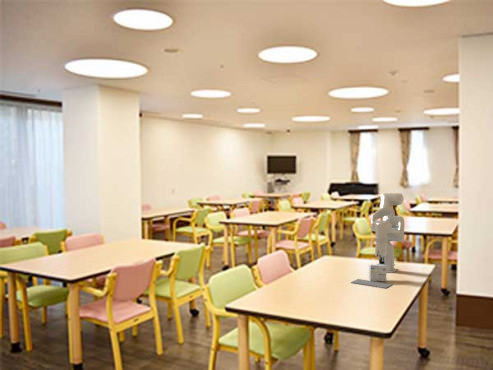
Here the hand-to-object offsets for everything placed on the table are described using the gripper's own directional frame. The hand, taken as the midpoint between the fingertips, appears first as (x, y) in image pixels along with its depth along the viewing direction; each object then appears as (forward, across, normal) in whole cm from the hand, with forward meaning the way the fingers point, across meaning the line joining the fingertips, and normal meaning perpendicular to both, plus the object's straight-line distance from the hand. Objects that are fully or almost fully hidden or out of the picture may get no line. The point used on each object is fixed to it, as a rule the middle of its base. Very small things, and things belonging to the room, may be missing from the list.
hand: (381, 266), depth 288 cm
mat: (+8, +17, 0) cm, 19 cm away
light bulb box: (+8, +8, 0) cm, 11 cm away
